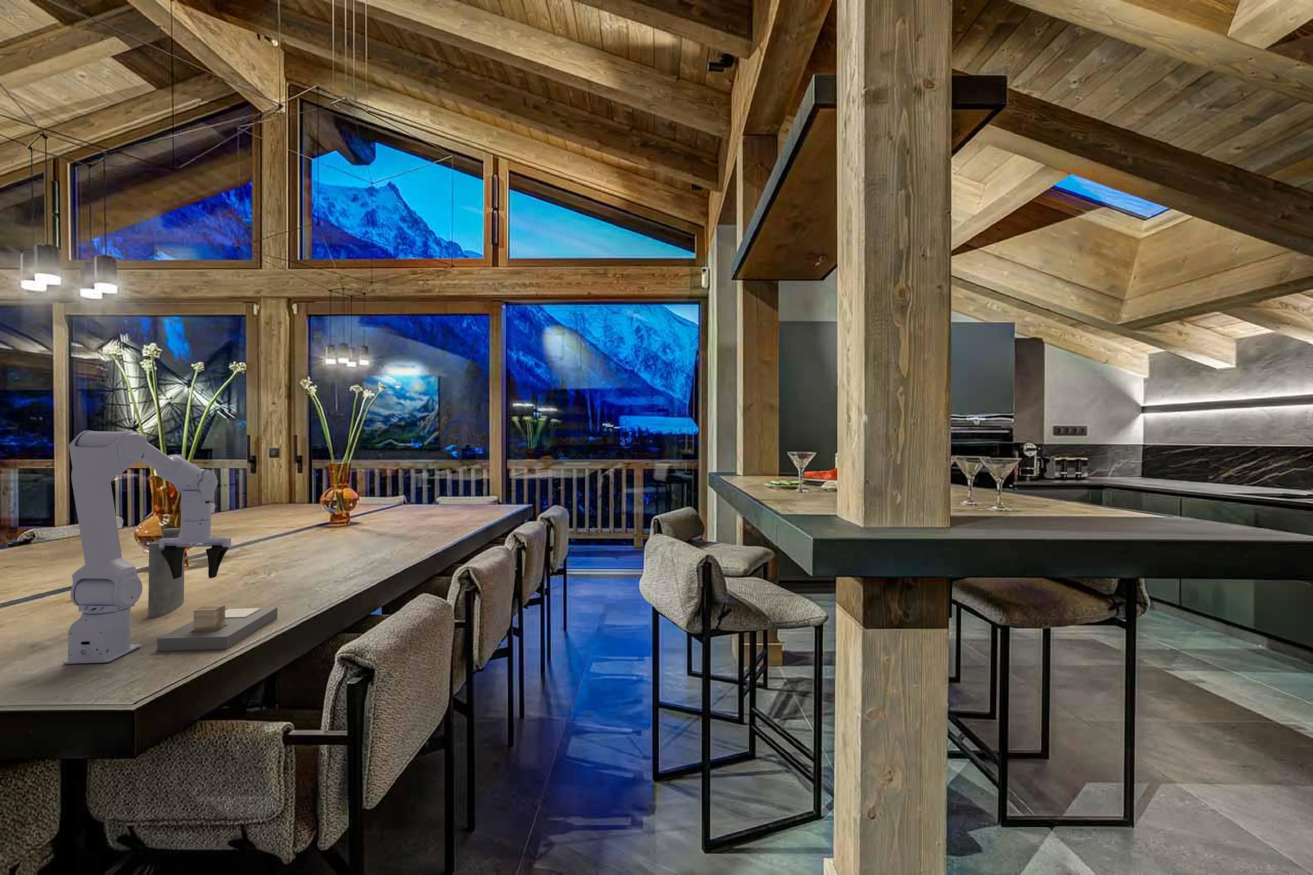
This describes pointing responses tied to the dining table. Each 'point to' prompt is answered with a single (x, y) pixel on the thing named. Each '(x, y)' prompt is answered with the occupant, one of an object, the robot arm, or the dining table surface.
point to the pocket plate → (235, 630)
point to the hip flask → (163, 580)
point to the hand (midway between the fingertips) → (194, 577)
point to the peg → (209, 618)
